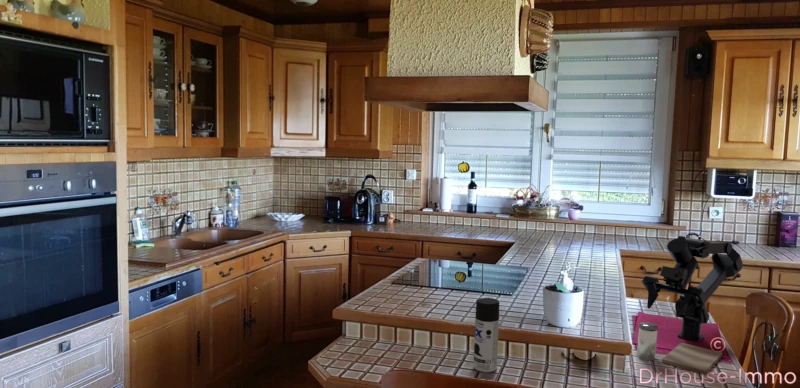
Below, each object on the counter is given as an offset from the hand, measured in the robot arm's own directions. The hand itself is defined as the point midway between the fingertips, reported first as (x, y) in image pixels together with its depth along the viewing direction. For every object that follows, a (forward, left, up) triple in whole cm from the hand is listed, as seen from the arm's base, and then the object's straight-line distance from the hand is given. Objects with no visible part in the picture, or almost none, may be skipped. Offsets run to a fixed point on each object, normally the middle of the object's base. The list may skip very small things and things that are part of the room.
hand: (662, 311), depth 188 cm
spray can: (+49, -32, -13) cm, 60 cm away
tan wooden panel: (0, +10, -13) cm, 16 cm away
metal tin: (+8, -1, -13) cm, 15 cm away
